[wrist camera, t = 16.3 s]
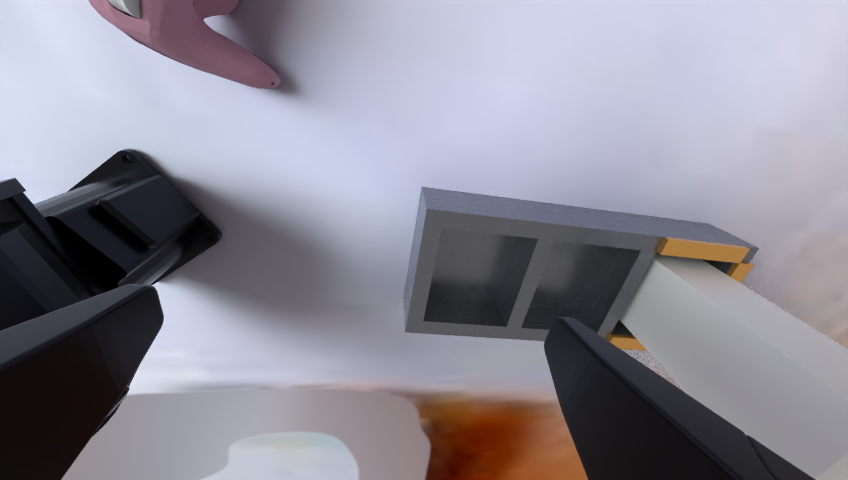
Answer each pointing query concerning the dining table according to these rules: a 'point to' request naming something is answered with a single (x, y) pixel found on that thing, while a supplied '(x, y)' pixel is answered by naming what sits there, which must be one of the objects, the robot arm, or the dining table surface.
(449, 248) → the rack
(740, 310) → the light grey block
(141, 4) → the video game controller
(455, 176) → the dining table surface
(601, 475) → the robot arm
